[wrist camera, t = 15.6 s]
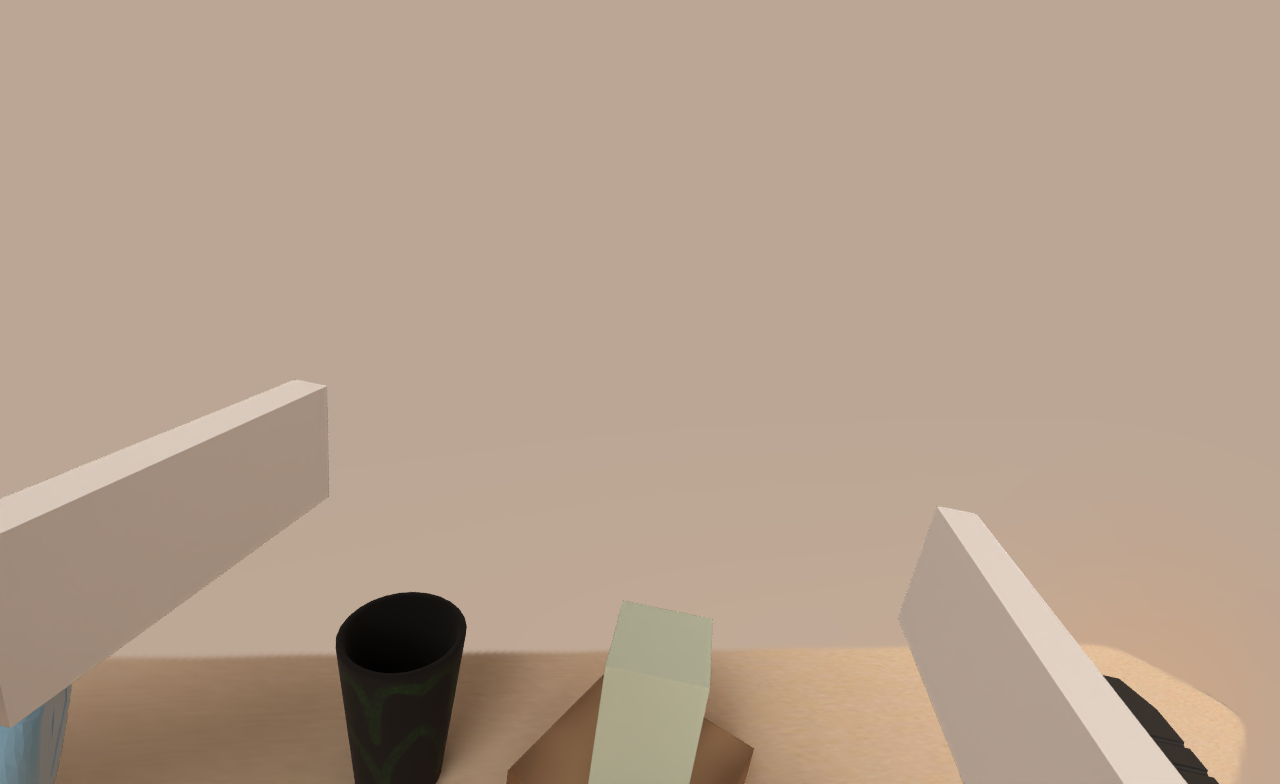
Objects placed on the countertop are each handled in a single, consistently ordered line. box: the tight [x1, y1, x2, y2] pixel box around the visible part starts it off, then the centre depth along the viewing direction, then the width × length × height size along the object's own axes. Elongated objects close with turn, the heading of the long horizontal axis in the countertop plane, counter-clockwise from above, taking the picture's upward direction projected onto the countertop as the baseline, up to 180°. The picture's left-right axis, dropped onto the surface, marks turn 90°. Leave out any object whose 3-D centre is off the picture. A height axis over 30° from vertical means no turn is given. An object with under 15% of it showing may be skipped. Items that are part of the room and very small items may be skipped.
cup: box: [336, 592, 467, 784], centre depth 40 cm, size 8×8×12 cm
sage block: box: [588, 601, 713, 784], centre depth 39 cm, size 6×6×10 cm
